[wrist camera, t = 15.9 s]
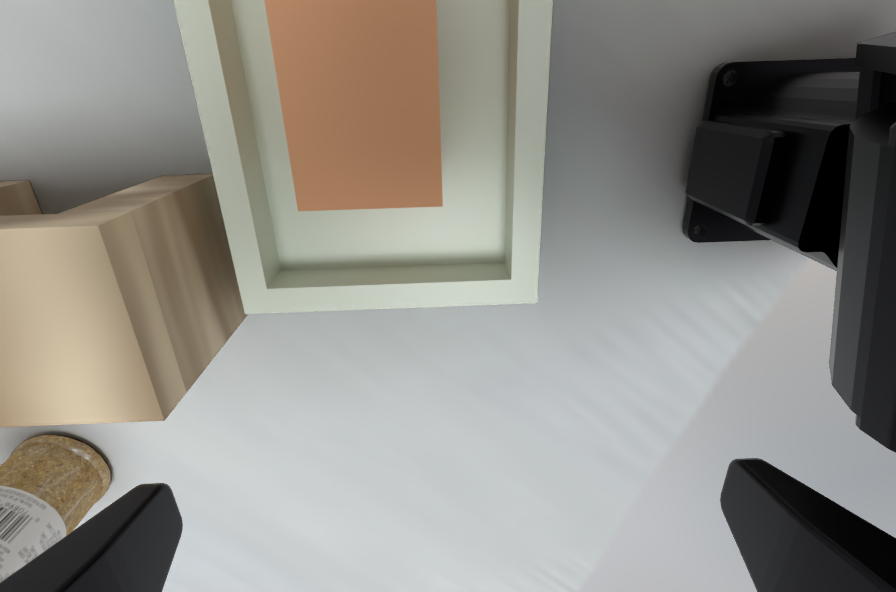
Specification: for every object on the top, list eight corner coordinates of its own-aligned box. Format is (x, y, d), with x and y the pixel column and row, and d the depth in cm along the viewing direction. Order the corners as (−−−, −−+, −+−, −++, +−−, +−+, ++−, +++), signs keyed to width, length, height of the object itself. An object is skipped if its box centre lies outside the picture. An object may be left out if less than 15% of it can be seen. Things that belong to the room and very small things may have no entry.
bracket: (215, 173, 18) (98, 225, 12) (247, 315, 21) (164, 420, 14) (-25, 182, 18) (-274, 238, 12) (36, 323, 21) (-142, 432, 14)
